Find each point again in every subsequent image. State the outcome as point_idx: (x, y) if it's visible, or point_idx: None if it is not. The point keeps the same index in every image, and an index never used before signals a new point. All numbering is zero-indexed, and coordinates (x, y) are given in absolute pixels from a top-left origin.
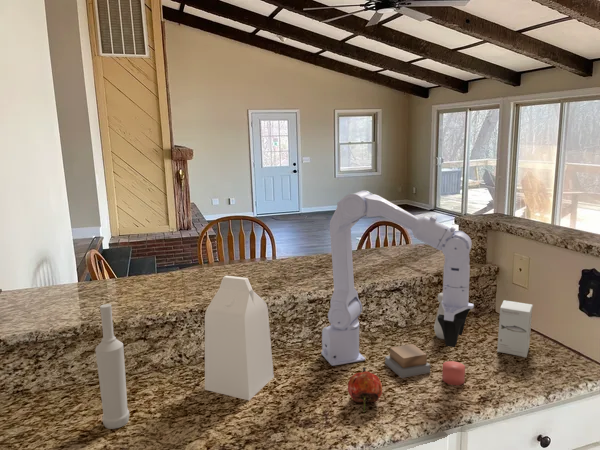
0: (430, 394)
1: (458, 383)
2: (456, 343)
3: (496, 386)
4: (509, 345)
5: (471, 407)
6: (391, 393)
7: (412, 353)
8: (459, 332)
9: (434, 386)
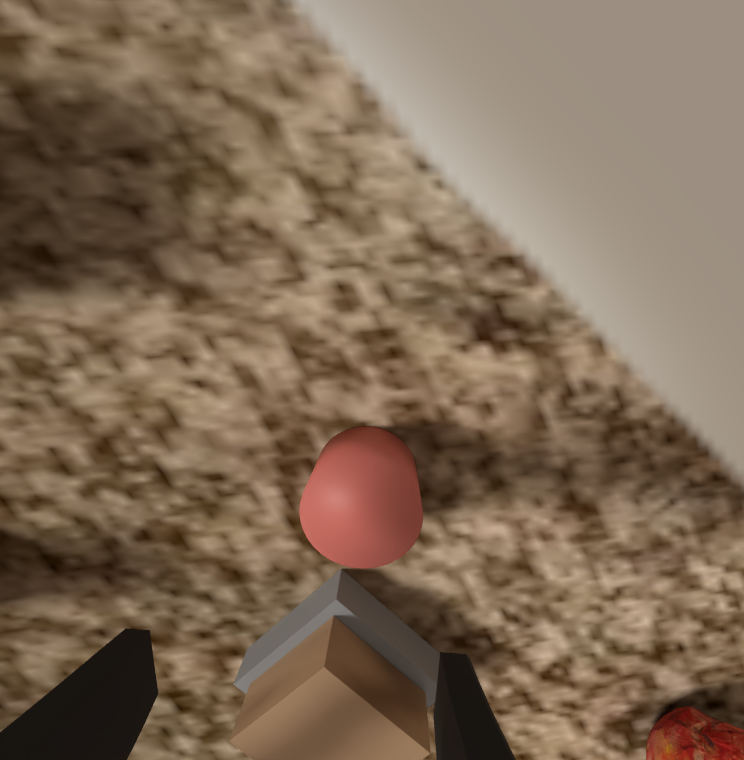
0: (538, 539)
1: (407, 450)
2: (450, 679)
3: (340, 279)
4: None
5: (594, 370)
6: (583, 665)
7: (351, 726)
8: (134, 671)
9: (461, 535)
